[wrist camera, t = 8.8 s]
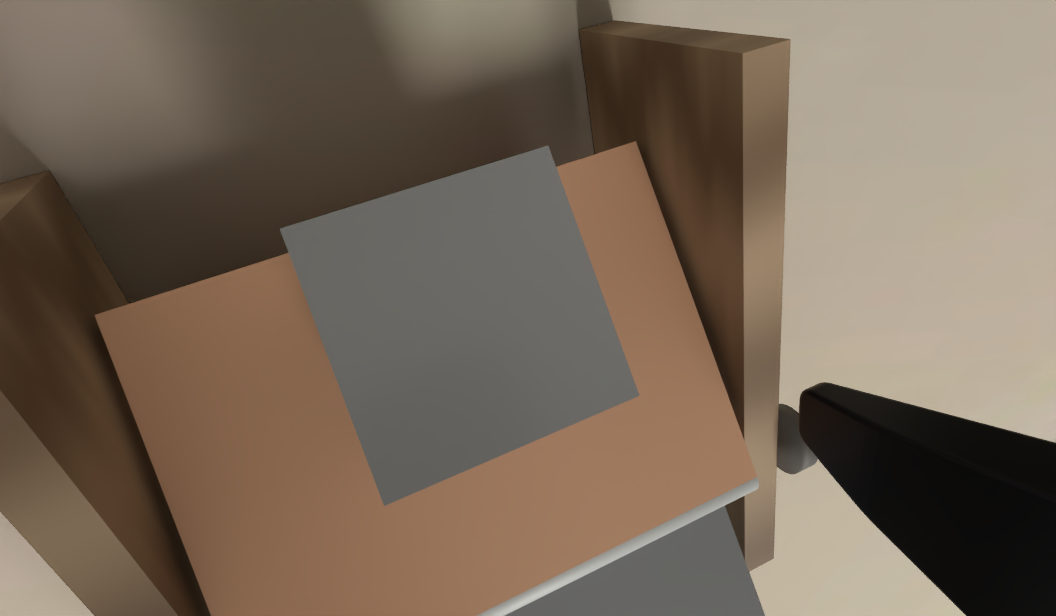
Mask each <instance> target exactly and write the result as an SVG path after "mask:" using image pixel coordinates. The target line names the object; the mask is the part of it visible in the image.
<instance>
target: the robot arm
mask: <svg viewBox="0 0 1056 616" xmlns="http://www.w3.org/2000/svg"><path fill="white" fill-rule="evenodd" d="M798 429H799V433H800V435H801V438H802V439H803V441H804V442H805V444H806V445H807V446H808V447H809V449H810V450H811V451H812V452H813V453H814V455H815V456H816V457H817V458H818V459H819V461H820V462H821V463H822V464H823V465H824V467H825V468H826V469H827V470H828V471H829V473H830V474H831V475H832V476H833V477H834V479H835V480H836V481H837V482H838V483H839V485H840V486H841V487H842V488H843V489H844V491H845V492H846V493H847V494H848V495H849V497H850V498H851V499H852V500H853V501H854V503H855V504H856V505H857V506H858V507H859V508H860V509H861V511H862V512H863V513H864V514H865V515H866V516H867V517H868V518H869V519H870V520H871V521H872V522H873V523H874V525H875V526H876V527H877V528H878V529H879V530H880V531H881V532H882V533H883V534H884V535H885V536H886V537H887V538H888V539H889V540H890V541H891V542H892V543H893V544H894V545H895V546H897V547H898V548H899V549H900V550H901V551H902V552H903V553H904V554H905V555H906V556H907V557H908V558H909V559H910V560H911V561H912V562H913V563H914V564H915V565H916V566H917V567H918V568H919V569H920V570H921V571H922V572H923V573H924V574H925V575H926V576H927V577H928V578H929V579H930V580H931V581H932V582H933V583H934V584H935V585H936V586H937V587H938V588H939V589H940V590H941V591H942V592H943V593H944V594H945V595H946V596H947V597H948V598H949V599H950V600H951V601H952V602H953V603H954V604H955V605H956V606H957V607H958V608H959V609H960V610H961V611H962V612H963V613H964V614H965V615H966V616H1056V443H1054V442H1051V441H1047V440H1043V439H1039V438H1035V437H1032V436H1028V435H1024V434H1020V433H1017V432H1013V431H1009V430H1005V429H1002V428H998V427H994V426H990V425H986V424H983V423H979V422H975V421H971V420H968V419H964V418H960V417H956V416H952V415H949V414H945V413H941V412H937V411H934V410H930V409H926V408H922V407H918V406H915V405H911V404H907V403H903V402H900V401H896V400H892V399H888V398H884V397H881V396H877V395H873V394H869V393H866V392H862V391H858V390H854V389H850V388H847V387H843V386H839V385H835V384H832V383H826V382H823V383H819V384H817V385H815V386H812V387H810V388H808V389H806V390H804V391H803V392H802V394H801V396H800V405H799V423H798Z"/></svg>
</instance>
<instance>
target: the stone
mask: <svg viewBox="0 0 1056 616" xmlns="http://www.w3.org/2000/svg"><path fill="white" fill-rule="evenodd" d="M280 232H281V234H282V237H283V239H284V242H285V245H286V247H287V250H288V253H289V255H290V258H291V261H292V263H293V266H294V269H295V271H296V274H297V277H298V279H299V282H300V284H301V287H302V290H303V292H304V295H305V298H306V300H307V303H308V306H309V308H310V311H311V314H312V316H313V319H314V322H315V324H316V327H317V330H318V332H319V335H320V337H321V340H322V343H323V345H324V348H325V351H326V353H327V356H328V359H329V361H330V364H331V367H332V369H333V372H334V375H335V377H336V380H337V382H338V385H339V388H340V390H341V393H342V396H343V398H344V401H345V404H346V406H347V409H348V412H349V414H350V417H351V420H352V422H353V425H354V428H355V430H356V433H357V435H358V438H359V441H360V443H361V446H362V449H363V451H364V454H365V457H366V459H367V462H368V465H369V467H370V470H371V473H372V475H373V478H374V480H375V483H376V486H377V488H378V491H379V494H380V496H381V499H382V502H383V504H384V506H386V505H388V504H390V503H393V502H395V501H397V500H399V499H402V498H404V497H406V496H409V495H411V494H413V493H416V492H418V491H420V490H423V489H425V488H427V487H430V486H432V485H434V484H437V483H439V482H441V481H443V480H446V479H448V478H450V477H453V476H455V475H457V474H460V473H462V472H464V471H467V470H469V469H471V468H474V467H476V466H478V465H480V464H483V463H485V462H487V461H490V460H492V459H494V458H497V457H499V456H501V455H504V454H506V453H508V452H511V451H513V450H515V449H518V448H520V447H522V446H524V445H527V444H529V443H531V442H534V441H536V440H538V439H541V438H543V437H545V436H548V435H550V434H552V433H555V432H557V431H559V430H561V429H564V428H566V427H568V426H571V425H573V424H575V423H578V422H580V421H582V420H585V419H587V418H589V417H592V416H594V415H596V414H599V413H601V412H603V411H605V410H608V409H610V408H612V407H615V406H617V405H619V404H622V403H624V402H626V401H629V400H631V399H633V398H636V397H638V396H640V395H639V393H638V390H637V387H636V385H635V382H634V379H633V376H632V374H631V371H630V368H629V365H628V363H627V360H626V357H625V354H624V352H623V349H622V346H621V343H620V341H619V338H618V335H617V332H616V330H615V327H614V324H613V321H612V319H611V316H610V313H609V311H608V308H607V305H606V302H605V300H604V297H603V294H602V291H601V289H600V286H599V283H598V280H597V278H596V275H595V272H594V269H593V267H592V264H591V261H590V258H589V256H588V253H587V250H586V247H585V245H584V242H583V239H582V237H581V234H580V231H579V228H578V226H577V223H576V220H575V217H574V215H573V212H572V209H571V206H570V204H569V201H568V198H567V195H566V193H565V190H564V187H563V184H562V182H561V179H560V176H559V173H558V171H557V168H556V165H555V163H554V160H553V157H552V154H551V152H550V149H549V146H544V147H541V148H538V149H535V150H531V151H528V152H525V153H522V154H519V155H515V156H512V157H509V158H506V159H502V160H499V161H496V162H493V163H490V164H486V165H483V166H480V167H477V168H473V169H470V170H467V171H464V172H461V173H457V174H454V175H451V176H448V177H444V178H441V179H438V180H435V181H431V182H428V183H425V184H422V185H419V186H415V187H412V188H409V189H406V190H402V191H399V192H396V193H393V194H390V195H386V196H383V197H380V198H377V199H373V200H370V201H367V202H364V203H361V204H357V205H354V206H351V207H348V208H344V209H341V210H338V211H335V212H332V213H328V214H325V215H322V216H319V217H315V218H312V219H309V220H306V221H303V222H299V223H296V224H293V225H290V226H286V227H283V228H280Z"/></svg>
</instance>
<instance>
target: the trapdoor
mask: <svg viewBox="0 0 1056 616" xmlns="http://www.w3.org/2000/svg"><path fill="white" fill-rule="evenodd" d="M556 168H557V171H558V173H559V176H560V179H561V182H562V184H563V187H564V190H565V193H566V195H567V198H568V201H569V204H570V206H571V209H572V212H573V215H574V217H575V220H576V223H577V226H578V228H579V231H580V234H581V237H582V239H583V242H584V245H585V247H586V250H587V253H588V256H589V258H590V261H591V264H592V267H593V269H594V272H595V275H596V278H597V280H598V283H599V286H600V289H601V291H602V294H603V297H604V300H605V302H606V305H607V308H608V311H609V313H610V316H611V319H612V321H613V324H614V327H615V330H616V332H617V335H618V338H619V341H620V343H621V346H622V349H623V352H624V354H625V357H626V360H627V363H628V365H629V368H630V371H631V374H632V376H633V379H634V382H635V385H636V387H637V390H638V393H639V395H640V396H638V397H636V398H633V399H631V400H629V401H626V402H624V403H622V404H619V405H617V406H615V407H612V408H610V409H608V410H605V411H603V412H601V413H599V414H596V415H594V416H592V417H589V418H587V419H585V420H582V421H580V422H578V423H575V424H573V425H571V426H568V427H566V428H564V429H561V430H559V431H557V432H555V433H552V434H550V435H548V436H545V437H543V438H541V439H538V440H536V441H534V442H531V443H529V444H527V445H524V446H522V447H520V448H518V449H515V450H513V451H511V452H508V453H506V454H504V455H501V456H499V457H497V458H494V459H492V460H490V461H487V462H485V463H483V464H480V465H478V466H476V467H474V468H471V469H469V470H467V471H464V472H462V473H460V474H457V475H455V476H453V477H450V478H448V479H446V480H443V481H441V482H439V483H437V484H434V485H432V486H430V487H427V488H425V489H423V490H420V491H418V492H416V493H413V494H411V495H409V496H406V497H404V498H402V499H399V500H397V501H395V502H393V503H390V504H388V505H386V506H384V504H383V502H382V499H381V496H380V494H379V491H378V488H377V486H376V483H375V480H374V478H373V475H372V473H371V470H370V467H369V465H368V462H367V459H366V457H365V454H364V451H363V449H362V446H361V443H360V441H359V438H358V435H357V433H356V430H355V428H354V425H353V422H352V420H351V417H350V414H349V412H348V409H347V406H346V404H345V401H344V398H343V396H342V393H341V390H340V388H339V385H338V382H337V380H336V377H335V375H334V372H333V369H332V367H331V364H330V361H329V359H328V356H327V353H326V351H325V348H324V345H323V343H322V340H321V337H320V335H319V332H318V330H317V327H316V324H315V322H314V319H313V316H312V314H311V311H310V308H309V306H308V303H307V300H306V298H305V295H304V292H303V290H302V287H301V284H300V282H299V279H298V277H297V274H296V271H295V269H294V266H293V263H292V261H291V258H290V255H289V253H286V254H283V255H280V256H277V257H274V258H271V259H267V260H264V261H261V262H258V263H255V264H252V265H249V266H246V267H242V268H239V269H236V270H233V271H230V272H227V273H224V274H221V275H218V276H214V277H211V278H208V279H205V280H202V281H199V282H196V283H193V284H190V285H186V286H183V287H180V288H177V289H174V290H171V291H168V292H165V293H162V294H158V295H155V296H152V297H149V298H146V299H143V300H140V301H137V302H134V303H130V304H127V305H124V306H121V307H118V308H115V309H112V310H109V311H106V312H102V313H99V314H96V315H95V318H96V320H97V323H98V325H99V328H100V331H101V333H102V336H103V338H104V341H105V343H106V346H107V349H108V351H109V354H110V356H111V359H112V362H113V364H114V367H115V369H116V372H117V374H118V377H119V380H120V382H121V385H122V387H123V390H124V392H125V395H126V398H127V400H128V403H129V405H130V408H131V410H132V413H133V416H134V418H135V421H136V423H137V426H138V429H139V431H140V434H141V436H142V439H143V441H144V444H145V447H146V449H147V452H148V454H149V457H150V459H151V462H152V465H153V467H154V470H155V472H156V475H157V478H158V480H159V483H160V485H161V488H162V490H163V493H164V496H165V498H166V501H167V503H168V506H169V508H170V511H171V514H172V516H173V519H174V521H175V524H176V527H177V529H178V532H179V534H180V537H181V539H182V542H183V545H184V547H185V550H186V552H187V555H188V557H189V560H190V563H191V565H192V568H193V570H194V573H195V575H196V578H197V581H198V583H199V586H200V588H201V591H202V594H203V596H204V599H205V601H206V604H207V606H208V609H209V612H210V614H211V616H765V614H764V612H763V609H762V606H761V603H760V601H759V598H758V595H757V592H756V590H755V587H754V584H753V582H752V579H751V576H750V573H749V571H748V568H747V565H746V562H745V560H744V557H743V554H742V551H741V549H740V546H739V543H738V540H737V538H736V535H735V532H734V529H733V527H732V524H731V521H730V518H729V516H728V513H727V510H726V507H725V505H727V504H729V503H731V502H733V501H735V500H737V499H739V498H741V497H743V496H745V495H747V494H749V493H751V492H753V491H755V490H757V489H758V487H759V481H758V477H757V474H756V472H755V469H754V466H753V463H752V461H751V458H750V455H749V452H748V450H747V447H746V444H745V441H744V438H743V436H742V433H741V430H740V427H739V425H738V422H737V419H736V416H735V414H734V411H733V408H732V405H731V403H730V400H729V397H728V394H727V392H726V389H725V386H724V383H723V380H722V378H721V375H720V372H719V369H718V367H717V364H716V361H715V358H714V356H713V353H712V350H711V347H710V345H709V342H708V339H707V336H706V333H705V331H704V328H703V325H702V322H701V320H700V317H699V314H698V311H697V309H696V306H695V303H694V300H693V298H692V295H691V292H690V289H689V287H688V284H687V281H686V278H685V275H684V273H683V270H682V267H681V264H680V262H679V259H678V256H677V253H676V251H675V248H674V245H673V242H672V240H671V237H670V234H669V231H668V229H667V226H666V223H665V220H664V217H663V215H662V212H661V209H660V206H659V204H658V201H657V198H656V195H655V193H654V190H653V187H652V184H651V182H650V179H649V176H648V173H647V170H646V168H645V165H644V162H643V159H642V157H641V154H640V151H639V148H638V146H637V143H636V141H635V142H632V143H629V144H625V145H622V146H619V147H616V148H613V149H610V150H607V151H604V152H600V153H597V154H594V155H591V156H588V157H585V158H582V159H579V160H576V161H572V162H569V163H566V164H563V165H560V166H557V167H556Z"/></svg>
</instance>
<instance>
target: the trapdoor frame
mask: <svg viewBox="0 0 1056 616" xmlns="http://www.w3.org/2000/svg"><path fill="white" fill-rule="evenodd" d="M579 34H580V42H581V50H582V57H583V65H584V73H585V81H586V88H587V96H588V104H589V112H590V119H591V127H592V135H593V142H594V150H595V154H597V153H600V152H604V151H607V150H610V149H613V148H616V147H619V146H622V145H625V144H629V143H632V142H635V141H636V143H637V146H638V148H639V151H640V154H641V157H642V159H643V162H644V165H645V168H646V170H647V173H648V176H649V179H650V182H651V184H652V187H653V190H654V193H655V195H656V198H657V201H658V204H659V206H660V209H661V212H662V215H663V217H664V220H665V223H666V226H667V229H668V231H669V234H670V237H671V240H672V242H673V245H674V248H675V251H676V253H677V256H678V259H679V262H680V264H681V267H682V270H683V273H684V275H685V278H686V281H687V284H688V287H689V289H690V292H691V295H692V298H693V300H694V303H695V306H696V309H697V311H698V314H699V317H700V320H701V322H702V325H703V328H704V331H705V333H706V336H707V339H708V342H709V345H710V347H711V350H712V353H713V356H714V358H715V361H716V364H717V367H718V369H719V372H720V375H721V378H722V380H723V383H724V386H725V389H726V392H727V394H728V397H729V400H730V403H731V405H732V408H733V411H734V414H735V416H736V419H737V422H738V425H739V427H740V430H741V433H742V436H743V438H744V441H745V444H746V447H747V450H748V452H749V455H750V458H751V461H752V463H753V466H754V469H755V472H756V474H757V477H758V481H759V487H758V489H757V490H755V491H753V492H751V493H749V494H747V495H745V496H743V497H741V498H739V499H737V500H735V501H733V502H731V503H729V504H727V505H725V507H726V510H727V513H728V516H729V518H730V521H731V524H732V527H733V529H734V532H735V535H736V538H737V540H738V543H739V546H740V549H741V551H742V554H743V557H744V560H745V562H746V565H747V568H748V571H751V570H753V569H755V568H757V567H758V566H760V565H762V564H764V563H766V562H768V561H770V560H772V559H773V558H774V531H775V500H776V469H777V467H778V468H779V469H781V470H782V471H784V472H786V473H789V474H796V473H798V472H800V471H802V470H804V469H806V468H808V467H810V466H812V465H814V464H815V463H816V461H817V459H818V458H817V457H816V456H815V455H814V453H813V452H812V451H811V450H810V449H809V447H808V446H807V445H806V444H805V442H804V441H803V439H802V438H801V435H800V433H799V429H798V423H799V413H798V412H797V411H795V410H794V409H793V408H791V407H789V406H787V405H784V404H779V376H780V345H781V314H782V284H783V253H784V222H785V191H786V160H787V129H788V98H789V67H790V39H784V38H774V37H765V36H755V35H746V34H737V33H727V32H718V31H708V30H699V29H690V28H680V27H671V26H661V25H652V24H643V23H633V22H624V21H610V22H606V23H602V24H599V25H595V26H591V27H587V28H584V29H580V30H579ZM127 304H129V303H128V301H127V299H126V298H125V296H124V294H123V293H122V291H121V289H120V288H119V286H118V284H117V283H116V281H115V279H114V278H113V276H112V274H111V273H110V271H109V269H108V268H107V266H106V264H105V263H104V261H103V259H102V258H101V256H100V254H99V252H98V251H97V249H96V247H95V246H94V244H93V242H92V241H91V239H90V237H89V236H88V234H87V232H86V231H85V229H84V227H83V226H82V224H81V222H80V221H79V219H78V217H77V216H76V214H75V212H74V211H73V209H72V207H71V206H70V204H69V202H68V201H67V199H66V197H65V196H64V194H63V192H62V191H61V189H60V187H59V186H58V184H57V182H56V181H55V179H54V177H53V176H52V174H51V172H50V171H46V172H42V173H38V174H35V175H31V176H27V177H23V178H20V179H16V180H12V181H8V182H5V183H1V184H0V512H1V513H2V514H3V515H4V516H5V517H6V518H7V519H8V520H9V522H10V523H11V524H12V525H13V526H14V527H15V528H16V529H17V530H18V532H19V533H20V534H21V535H22V536H23V537H24V538H25V539H26V540H27V542H28V543H29V544H30V545H31V546H32V547H33V548H34V549H35V550H36V551H37V553H38V554H39V555H40V556H41V557H42V558H43V559H44V560H45V561H46V563H47V564H48V565H49V566H50V567H51V568H52V569H53V570H54V571H55V572H56V574H57V575H58V576H59V577H60V578H61V579H62V580H63V581H64V582H65V584H66V585H67V586H68V587H69V588H70V589H71V590H72V591H73V592H74V593H75V595H76V596H77V597H78V598H79V599H80V600H81V601H82V602H83V603H84V605H85V606H86V607H87V608H88V609H89V610H90V611H91V612H92V613H93V614H94V616H211V614H210V612H209V609H208V606H207V604H206V601H205V599H204V596H203V594H202V591H201V588H200V586H199V583H198V581H197V578H196V575H195V573H194V570H193V568H192V565H191V563H190V560H189V557H188V555H187V552H186V550H185V547H184V545H183V542H182V539H181V537H180V534H179V532H178V529H177V527H176V524H175V521H174V519H173V516H172V514H171V511H170V508H169V506H168V503H167V501H166V498H165V496H164V493H163V490H162V488H161V485H160V483H159V480H158V478H157V475H156V472H155V470H154V467H153V465H152V462H151V459H150V457H149V454H148V452H147V449H146V447H145V444H144V441H143V439H142V436H141V434H140V431H139V429H138V426H137V423H136V421H135V418H134V416H133V413H132V410H131V408H130V405H129V403H128V400H127V398H126V395H125V392H124V390H123V387H122V385H121V382H120V380H119V377H118V374H117V372H116V369H115V367H114V364H113V362H112V359H111V356H110V354H109V351H108V349H107V346H106V343H105V341H104V338H103V336H102V333H101V331H100V328H99V325H98V323H97V320H96V318H95V315H96V314H99V313H102V312H106V311H109V310H112V309H115V308H118V307H121V306H124V305H127Z"/></svg>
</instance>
